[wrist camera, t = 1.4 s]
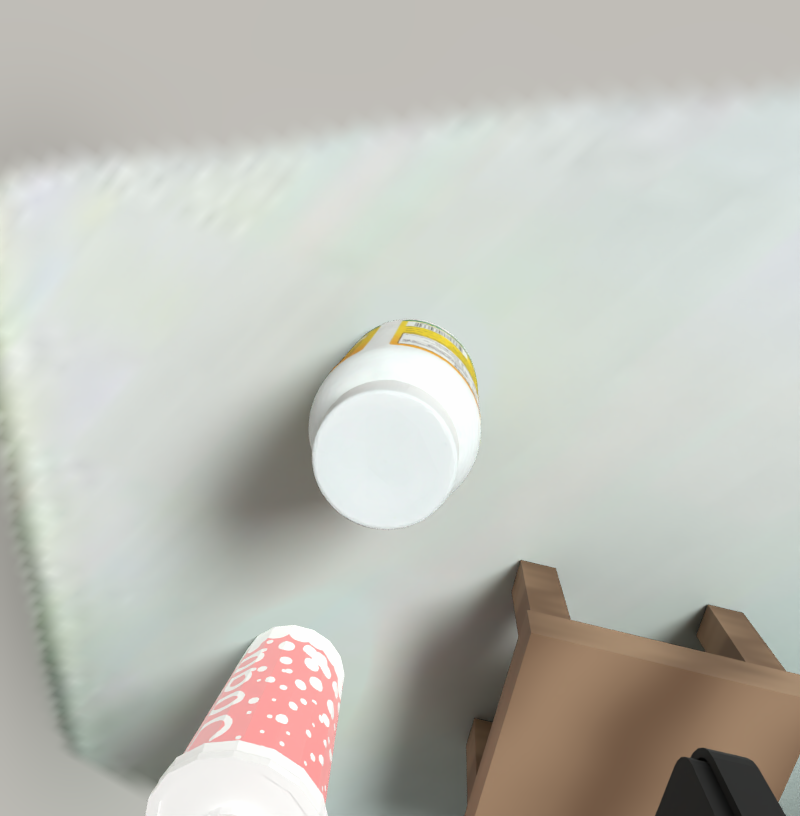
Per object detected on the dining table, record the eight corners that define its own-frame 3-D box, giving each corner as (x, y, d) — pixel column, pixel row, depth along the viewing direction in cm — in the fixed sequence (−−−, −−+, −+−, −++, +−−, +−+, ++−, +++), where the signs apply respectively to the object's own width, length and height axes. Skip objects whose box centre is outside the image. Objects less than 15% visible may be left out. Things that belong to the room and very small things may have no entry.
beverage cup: (331, 593, 31) (235, 878, 17) (380, 709, 32) (327, 1059, 19) (205, 630, 32) (22, 929, 18) (258, 742, 33) (123, 1098, 20)
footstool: (751, 609, 30) (822, 702, 24) (674, 800, 32) (722, 927, 26) (516, 553, 30) (531, 632, 24) (459, 748, 32) (460, 862, 27)
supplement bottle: (462, 304, 27) (465, 345, 18) (487, 435, 29) (503, 536, 19) (327, 332, 28) (265, 385, 19) (358, 459, 29) (313, 568, 20)
